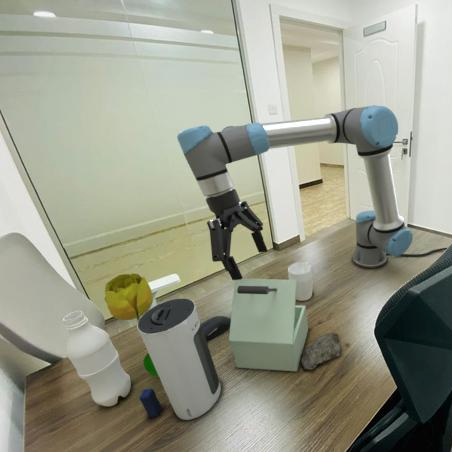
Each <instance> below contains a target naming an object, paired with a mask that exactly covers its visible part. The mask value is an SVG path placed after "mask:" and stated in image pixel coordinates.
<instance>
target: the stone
mask: <svg viewBox="0 0 452 452" xmlns="http://www.w3.org/2000/svg"><path fill="white" fill-rule="evenodd" d="M341 353H342V346H341V343H340V342H339V333H334V332H332V333H330V332H329V333H328V332H327V333H324V334H323V335H321V336H319V337H318V338H316V339H314V341H312V342H310V343H309V345H307V346H306V347H305V349H303V351H302V354H301V359H300V363H301V366H302V368H303V370H308V371H309V370H310V371H311V370H314V369H315V368H316V367H317V366H318V365H319V364H323V363H324V362H327V361H329V360H332V359H333V358H335V357H340V356H341Z"/></svg>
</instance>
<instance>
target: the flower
mask: <svg viewBox="0 0 452 452" xmlns="http://www.w3.org/2000/svg"><path fill="white" fill-rule="evenodd" d="M104 293H105V297H104V301H105V303H106V306H107V309H108V311H109V313H110V315H111V316H112V317H113V318H114V319H116V320H120V321H131V320H134V319H136V320H137V322H138V321H139V319H140V318H141V317H142V315H143V314H144V313H146V312H147V311H148V310H150V309H151V308H152V305H153V303H154V297H153V292H152V288H151V286H150V284H149V282H148V281H147V279H146V277H145V275H142V276H141V275H140V274H139V273H125V274H123V273H122V274H118V275H117V276H115V277H114V278H112V279H110V280H109V281H108V282H107V283H105V286H104ZM142 363H143V367H144V370H145V371H146V372H148V373H149V374H150V375H151V376H153V377H159V376H158V373H157V371H156V369H155V366H154V364H153V362H152V360H151V357H150V355H149V353H148V352H147V353H146V354H145V356H144V358H143V360H142Z"/></svg>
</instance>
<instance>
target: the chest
mask: <svg viewBox="0 0 452 452" xmlns="http://www.w3.org/2000/svg"><path fill="white" fill-rule="evenodd" d="M308 332H309V324H308V315H307V307H306V305H297V304H295V323H294V342H293V344H285V343H266V342H247V341H229V342H230V347H231V351H232V354H233V358H234V361H235V365H236V368H237V369H253V370H269V371H284V372H298V369H299V366H300V363H301V360H302V357H301V354H302V353H303V351H304V347H305V344H306V339H307V337H308V336H307V335H308Z"/></svg>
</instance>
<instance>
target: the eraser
mask: <svg viewBox="0 0 452 452" xmlns="http://www.w3.org/2000/svg"><path fill="white" fill-rule="evenodd" d="M139 401H140V402H141V404H142V407H143V408H144V410H145V412H146V414H147V416H148V417H149V418H155V417H159V415H160V412H161V411H162V405H161V402H160V401H159V399H158V397H157V394H156V392H155V390H154V388H147V389H143V390H142V392H141V394H140V396H139Z"/></svg>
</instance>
